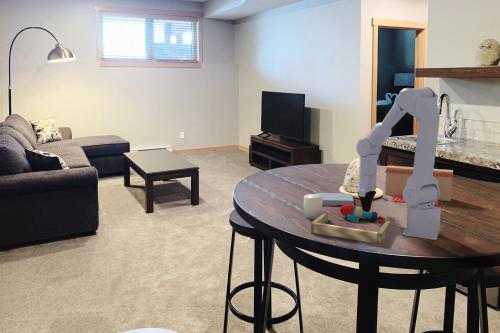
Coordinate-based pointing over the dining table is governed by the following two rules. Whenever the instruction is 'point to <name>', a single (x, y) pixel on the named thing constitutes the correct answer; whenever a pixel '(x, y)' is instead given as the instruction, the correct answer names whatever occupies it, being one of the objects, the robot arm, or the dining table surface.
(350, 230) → the wooden tray
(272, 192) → the dining table surface
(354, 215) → the toy figure
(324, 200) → the slate box
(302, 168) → the dining table surface
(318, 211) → the cream rounded block
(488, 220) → the dining table surface
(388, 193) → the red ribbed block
